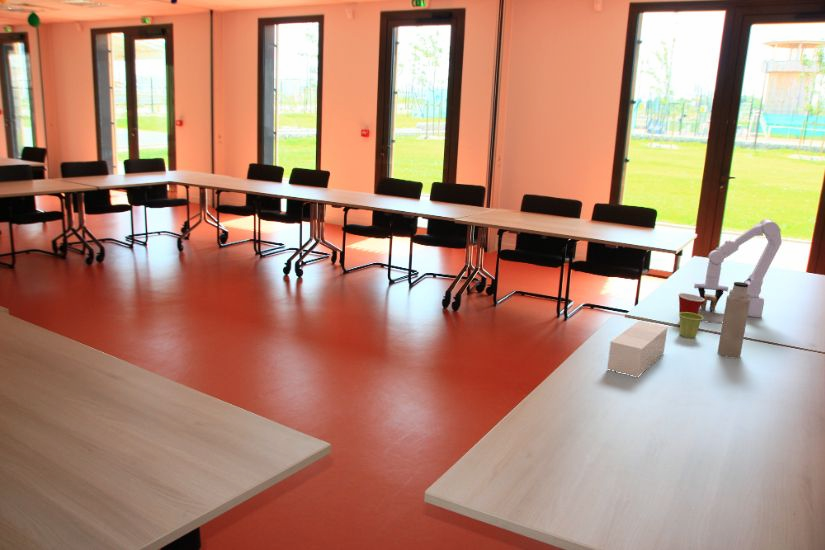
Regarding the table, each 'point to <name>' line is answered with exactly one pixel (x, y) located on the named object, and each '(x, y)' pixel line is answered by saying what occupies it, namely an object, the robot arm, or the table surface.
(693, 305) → the plastic cup
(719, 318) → the mat
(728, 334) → the thermos bottle
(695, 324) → the plant pot
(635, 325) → the beige rectangular block
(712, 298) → the stool
